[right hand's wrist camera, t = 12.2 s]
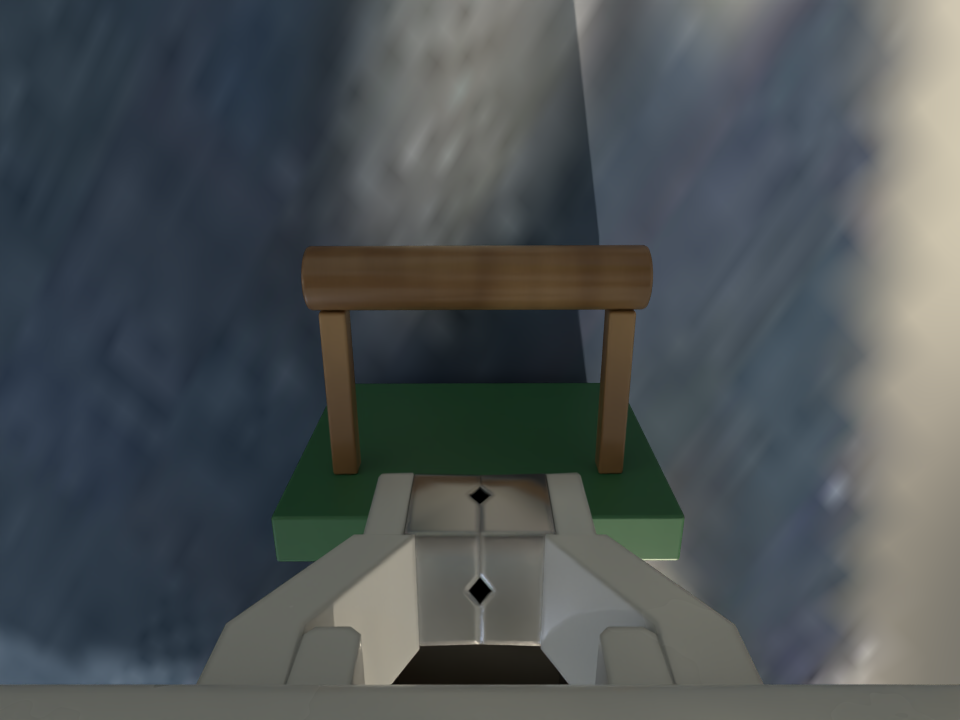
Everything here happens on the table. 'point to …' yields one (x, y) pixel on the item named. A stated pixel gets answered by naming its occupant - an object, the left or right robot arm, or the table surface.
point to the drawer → (477, 414)
